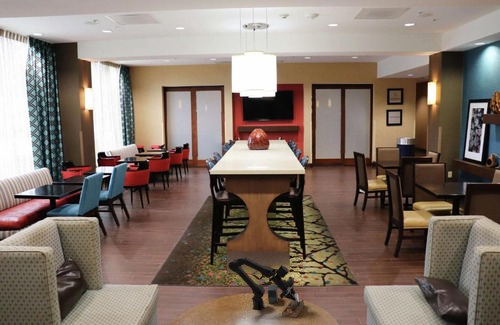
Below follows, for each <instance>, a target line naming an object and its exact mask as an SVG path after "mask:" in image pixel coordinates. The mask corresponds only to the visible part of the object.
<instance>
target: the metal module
mask: <svg viewBox="0 0 500 325" xmlns="http://www.w3.org/2000/svg"><path fill="white" fill-rule="evenodd" d="M292 295H293V296H294V298H295V299H296V301H294V300H291V299H289V302H290V301H291V307H298V306H299V302H300V299H299V293H296V294H292Z"/></svg>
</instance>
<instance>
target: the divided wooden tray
mask: <svg viewBox="0 0 500 325" xmlns="http://www.w3.org/2000/svg"><path fill="white" fill-rule="evenodd" d="M304 306H305V303H304V300H303V299H302V300H301V301H299V306H298V307H291V301H290V300H289V302H288V303H287V305H286V306H285V308H284V309H283V310H282V312H281V314H282V318H283V317H287V318H298V316H299V315H300V313H301V312H302V309H303V308H304Z"/></svg>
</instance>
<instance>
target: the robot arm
mask: <svg viewBox="0 0 500 325" xmlns="http://www.w3.org/2000/svg"><path fill="white" fill-rule="evenodd" d="M244 265H245V266H247V267H249V268H251V269H254V271H257V272H259V273H260V274H261V275H262V276H263V277H265V278H267V279H268V283H271V282H272V283H274V285H277V289H280V290H281V293H280V294H279V298H280V299H282V300H283V298H284V299H288V300H290V299H291V300H294V301H296V299H295V298H294V296H293V295H292V294H297V292H296V291H295V289H294V288H295V286H294V285H295V283H296V282H295V278H294V277H293V276H289V277H288V279H287V280H286V279H283V278H285V277H286V276H287V275H288V274H289V273H290V270H289V268H288V267H287V266H284V265H282V264H281V265H280V266H279V267H278V268H273V267H270V266H267V265H262V264H260V263H258V262H256V261H254V260H252V259H250V258H247V256H246V257H245V256H244V257H241V258H238V259H236V258H235V259H232V260H231V261H229V263H228V269H229V270H231V271H232V272H234V273H235V274H237V275H238V276H239V277H240V278H241V279H242V280H243V281H244V283H246V285H247V287H249V288H250V290H251V291H252V293H253V296H252V298H251V300H252V306H253V307H252V310H256V311H257V310H259V311H260V310H262V309H263V308H264V307H265V303H264V301H265V300H264V299H263V297H264V295H265V292H266V290H265V287H263V285H262V284H261V283H259V284H257V283H256V282H255V281H254V280H253V279H252V278H251V277H250V276H249V274H248V273H247V272H246V271H245V270H244V269H243V267H242V266H244Z"/></svg>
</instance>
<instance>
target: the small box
mask: <svg viewBox="0 0 500 325" xmlns="http://www.w3.org/2000/svg"><path fill="white" fill-rule="evenodd" d="M277 287H278V286H277V285H276V284H269V285H268V286H267V301H268V305H270V304H278V301H279V296H278V288H277Z"/></svg>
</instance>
